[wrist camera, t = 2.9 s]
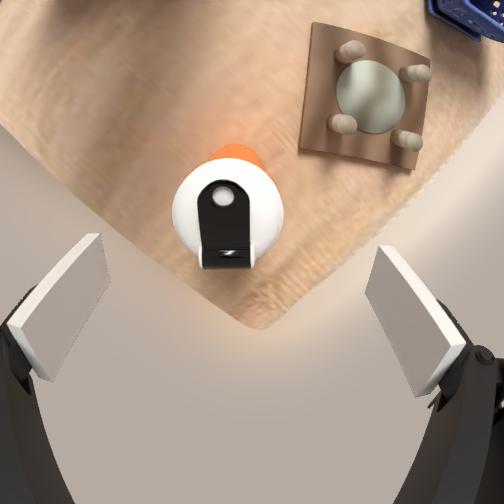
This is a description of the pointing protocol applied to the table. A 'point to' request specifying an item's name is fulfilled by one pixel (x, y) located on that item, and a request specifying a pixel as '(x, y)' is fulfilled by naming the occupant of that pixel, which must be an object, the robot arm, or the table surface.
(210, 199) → the shaker bottle
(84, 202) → the table surface
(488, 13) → the flower pot
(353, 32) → the cradle
